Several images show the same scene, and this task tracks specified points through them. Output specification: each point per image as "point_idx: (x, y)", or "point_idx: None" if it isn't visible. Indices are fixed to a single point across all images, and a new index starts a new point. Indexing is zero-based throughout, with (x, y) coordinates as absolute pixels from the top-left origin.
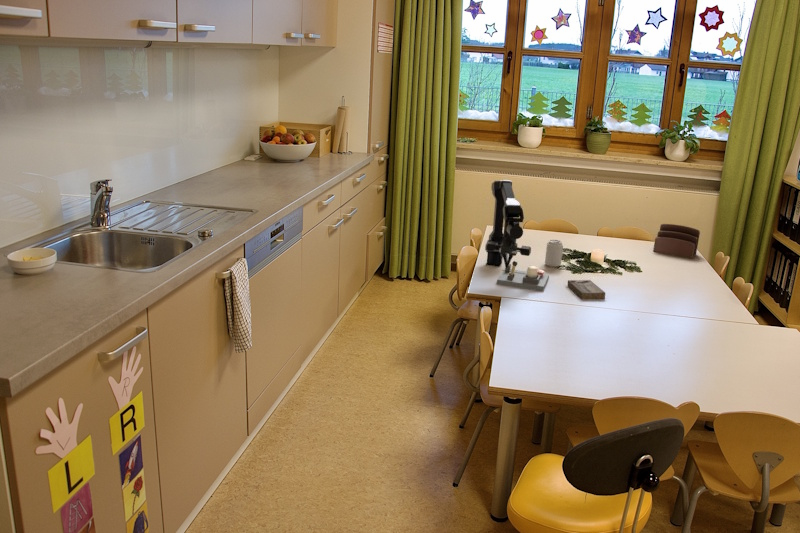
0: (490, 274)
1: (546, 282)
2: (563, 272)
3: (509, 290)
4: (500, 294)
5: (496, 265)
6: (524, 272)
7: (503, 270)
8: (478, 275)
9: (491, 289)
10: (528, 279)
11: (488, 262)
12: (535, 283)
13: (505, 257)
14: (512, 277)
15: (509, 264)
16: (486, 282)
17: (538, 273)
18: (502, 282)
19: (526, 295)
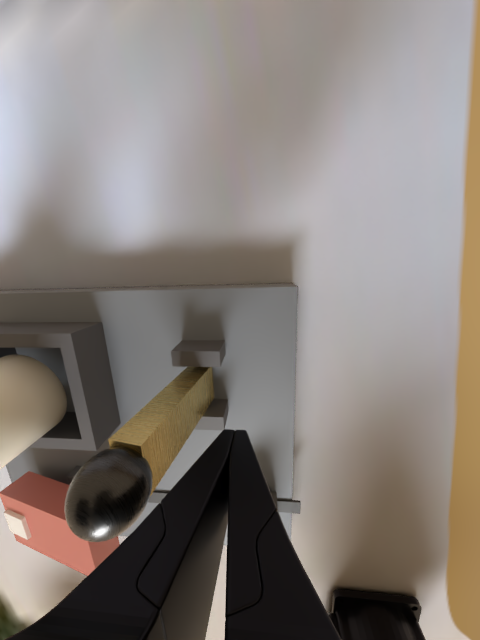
0: (367, 459)
1: None
2: (34, 597)
3: (172, 180)
4: (210, 13)
5: (352, 598)
6: None
7: (290, 506)
8: (451, 410)
9: (310, 118)
10: (36, 331)
11: (409, 624)
12: (8, 324)
13: (244, 594)
14: (177, 347)
15: None
16: (375, 283)
17: (34, 490)
18: (250, 286)
19: (31, 128)
